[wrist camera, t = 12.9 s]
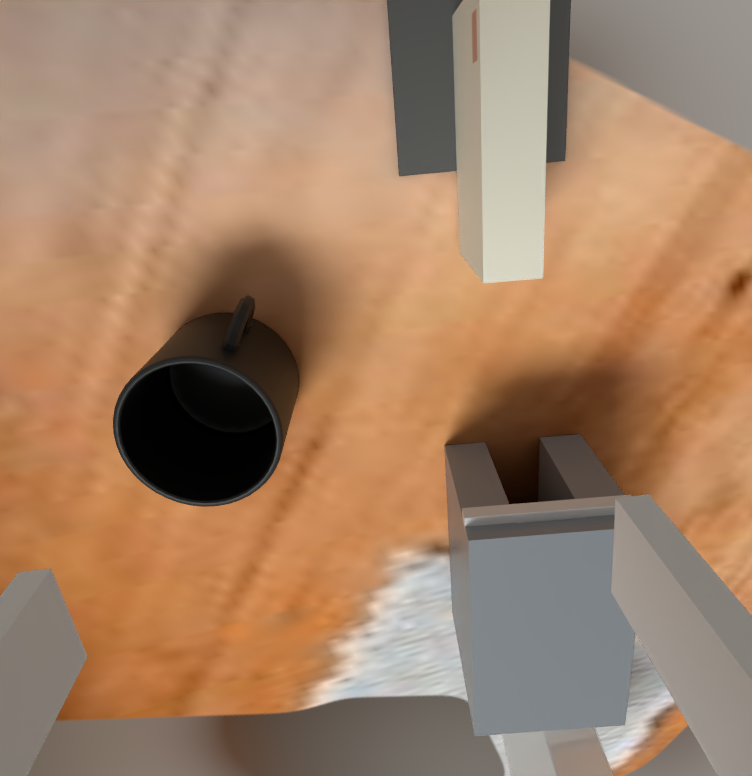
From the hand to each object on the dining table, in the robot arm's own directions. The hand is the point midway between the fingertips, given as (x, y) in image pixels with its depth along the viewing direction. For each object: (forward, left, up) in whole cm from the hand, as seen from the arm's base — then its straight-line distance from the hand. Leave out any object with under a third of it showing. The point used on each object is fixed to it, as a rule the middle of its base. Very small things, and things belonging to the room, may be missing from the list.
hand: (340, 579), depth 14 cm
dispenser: (+10, -20, -27) cm, 35 cm away
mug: (-9, -4, -28) cm, 29 cm away
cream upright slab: (+8, +9, -27) cm, 29 cm away
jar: (+13, -41, -28) cm, 51 cm away
